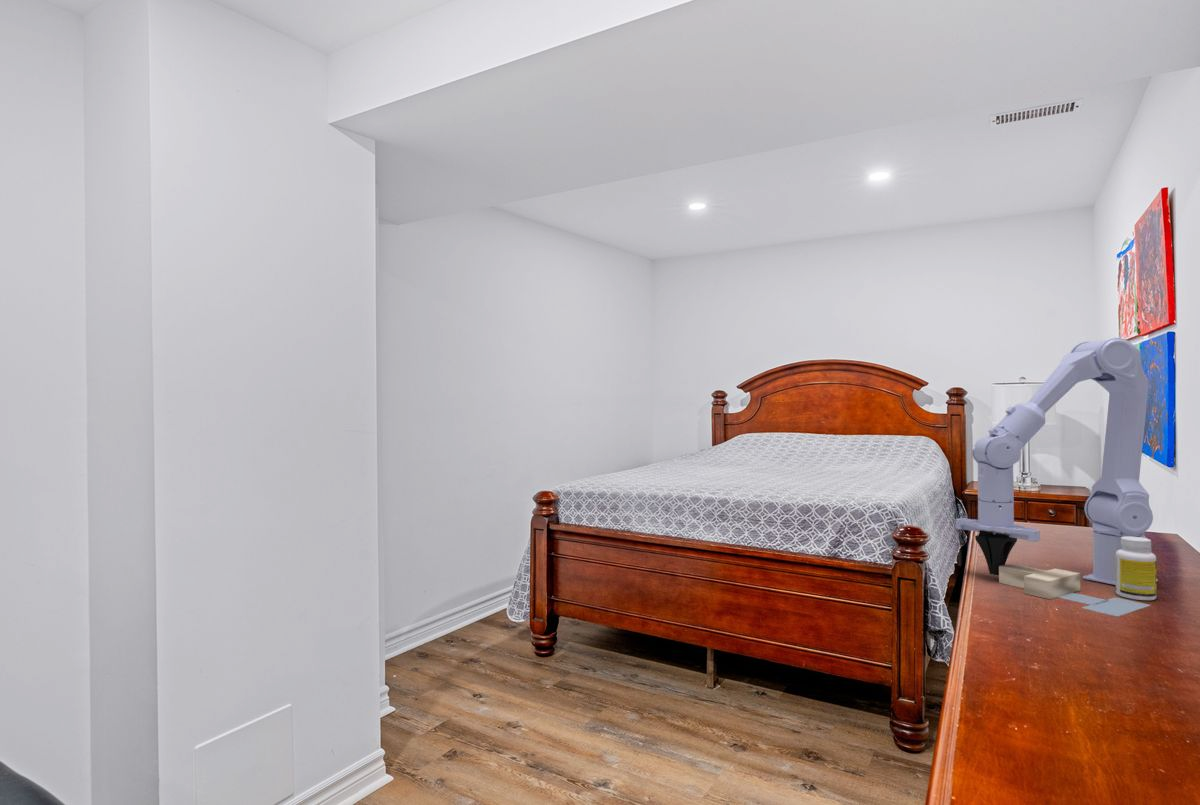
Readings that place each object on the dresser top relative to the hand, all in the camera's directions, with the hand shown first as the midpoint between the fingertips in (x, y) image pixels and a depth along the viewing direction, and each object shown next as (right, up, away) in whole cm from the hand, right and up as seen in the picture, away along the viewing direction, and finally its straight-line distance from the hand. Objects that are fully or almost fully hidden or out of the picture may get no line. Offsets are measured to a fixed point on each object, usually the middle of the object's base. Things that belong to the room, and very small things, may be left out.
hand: (996, 573), depth 124 cm
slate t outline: (+8, -1, -14) cm, 16 cm away
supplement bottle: (+17, -1, -12) cm, 20 cm away
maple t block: (+3, -1, -6) cm, 7 cm away
